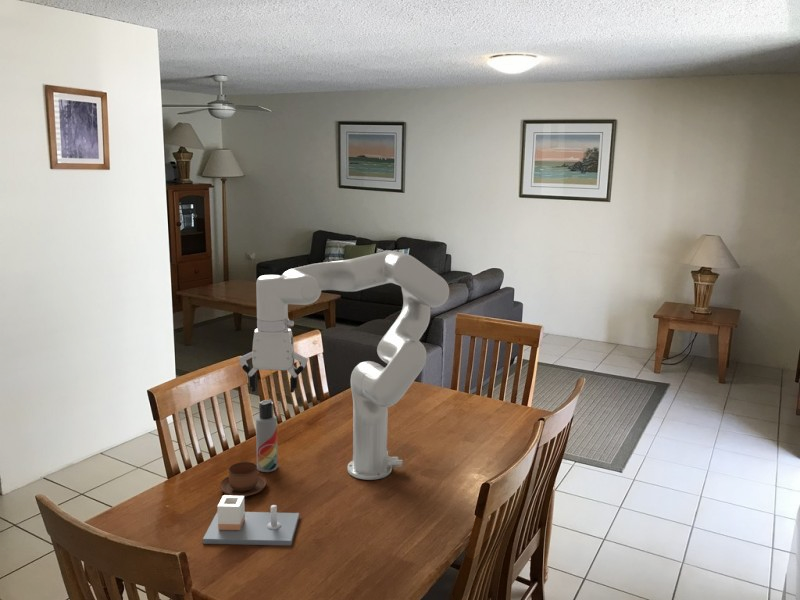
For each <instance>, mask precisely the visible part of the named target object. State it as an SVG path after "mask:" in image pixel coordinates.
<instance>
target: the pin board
mask: <svg viewBox="0 0 800 600" xmlns="http://www.w3.org/2000/svg"><path fill="white" fill-rule="evenodd" d="M277 510H278V506H277V505H276V504H272V505H270V512H268V511H267V512H266V511H245V520H244V522H243V524H242V527H241V529H240V530H218V510H217V511H216V513H215V515H214V517H213V518H212V521H211V523H210V525H209V526H208V528H207V530H206V532H205V534H204V536H203V538H202V544H205V545H206V544H207V545H208V544H209V545H249V546H250V545H252V546H259V545H260V546H292V545H293V540H294V537H295V534H296V530H297V526H298V523H299V520H300V512H278V511H277Z"/></svg>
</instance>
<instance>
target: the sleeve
mask: <svg viewBox="0 0 800 600" xmlns="http://www.w3.org/2000/svg"><path fill="white" fill-rule="evenodd" d="M216 509H217V511H218V530H240V529H241V527H242V524H243V522H244V520H245V512H246V510H245V509H246V508H245V496H230V495H227V494H224V495H222V496H221V499H220V501H219V503H218V504H217V508H216Z"/></svg>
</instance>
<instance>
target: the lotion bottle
mask: <svg viewBox="0 0 800 600" xmlns="http://www.w3.org/2000/svg"><path fill="white" fill-rule="evenodd" d="M255 430H256V431H255V437H256V439H255V440H256V442H255V443H256V465H257V471H259V472H262V473H270V472H273V471H276V470H277V468H278V419H277V416H276V415H274V402H273V400H270V399H265V400H264V399H263V400H262V401H260V402H259V403H258V416H256V418H255Z"/></svg>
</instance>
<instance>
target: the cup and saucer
mask: <svg viewBox="0 0 800 600" xmlns="http://www.w3.org/2000/svg"><path fill="white" fill-rule="evenodd" d="M267 483H268V482H267V478H266V477H265V476H263V475H262V474H260V473H258V468H257V463H254V462H249V461H240V462H236V463H234V464H232V465H230V466H229V468H228V476H226V477H225V478H223V480H221V482H220V484H219V488H220V489H221V492H223V493H224V494H225V495H230V496H244V497H248V496H253V495H256V494H258V493H260V492H261V491H262V490H263V489H264V488H266V486H267Z"/></svg>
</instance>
